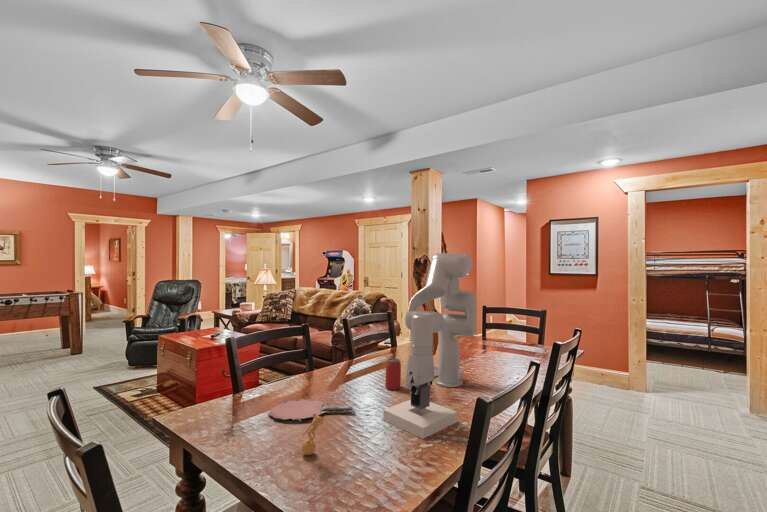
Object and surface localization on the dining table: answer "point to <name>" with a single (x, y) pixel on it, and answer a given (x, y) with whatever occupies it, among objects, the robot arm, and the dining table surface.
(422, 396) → the plug
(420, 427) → the socket
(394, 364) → the beer can
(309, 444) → the figurine
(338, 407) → the table tennis paddle
